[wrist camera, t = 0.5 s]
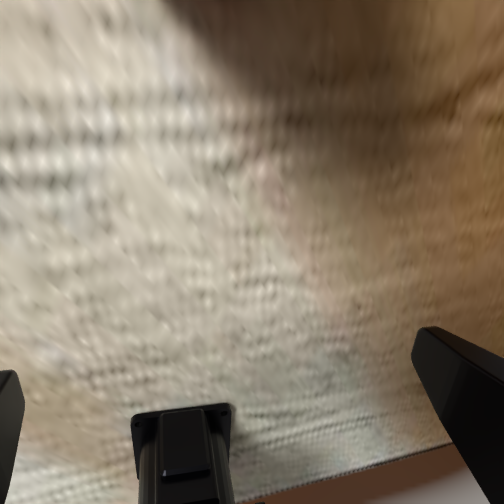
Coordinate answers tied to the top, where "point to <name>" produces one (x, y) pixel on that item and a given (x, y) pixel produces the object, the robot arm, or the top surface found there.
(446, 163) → the top surface
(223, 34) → the top surface
